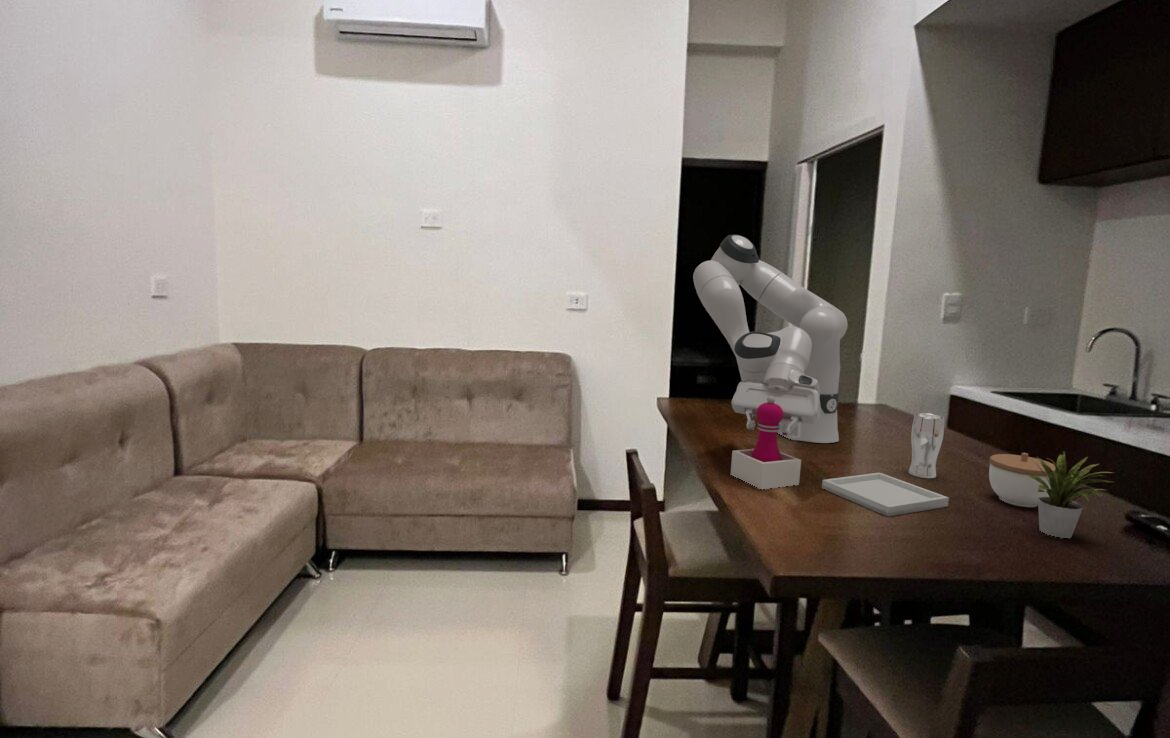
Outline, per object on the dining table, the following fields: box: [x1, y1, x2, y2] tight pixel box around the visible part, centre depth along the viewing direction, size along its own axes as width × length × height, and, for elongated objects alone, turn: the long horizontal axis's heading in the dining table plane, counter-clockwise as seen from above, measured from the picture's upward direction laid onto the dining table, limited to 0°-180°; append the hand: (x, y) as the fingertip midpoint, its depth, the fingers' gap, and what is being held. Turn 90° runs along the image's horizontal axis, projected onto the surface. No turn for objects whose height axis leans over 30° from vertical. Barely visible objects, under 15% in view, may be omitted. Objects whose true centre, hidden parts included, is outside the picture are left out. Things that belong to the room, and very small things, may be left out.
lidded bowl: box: [988, 452, 1055, 508], centre depth 143 cm, size 13×13×11 cm
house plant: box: [1027, 450, 1115, 539], centre depth 124 cm, size 14×14×16 cm
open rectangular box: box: [730, 448, 802, 491], centre depth 151 cm, size 11×11×6 cm
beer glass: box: [908, 412, 945, 479], centre depth 160 cm, size 7×7×15 cm
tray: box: [821, 472, 950, 518], centre depth 143 cm, size 18×18×2 cm
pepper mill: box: [750, 396, 783, 462], centre depth 150 cm, size 7×7×20 cm
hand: (767, 431), depth 149 cm, fingers open, 7 cm apart
